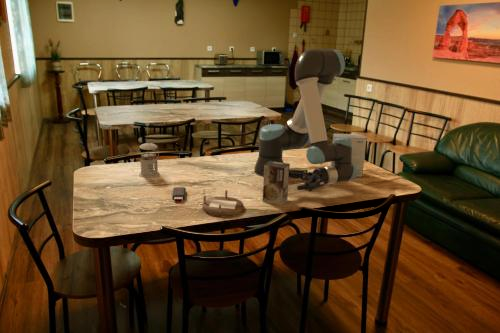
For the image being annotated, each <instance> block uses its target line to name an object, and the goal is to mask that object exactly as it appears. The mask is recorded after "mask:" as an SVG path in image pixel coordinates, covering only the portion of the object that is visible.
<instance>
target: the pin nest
mask: <svg viewBox="0 0 500 333" xmlns="http://www.w3.org/2000/svg"><path fill="white" fill-rule="evenodd" d="M224 192H225V193H224V196H214V197H213V196H212V197H211V198H208V199H207V197H206V195H203V200H202V211H203V210H204V211H203V212H204V213H205V212H206V213H205V214H207V215H209V214H210V215H209V216H212V215H213V217H217V216H221V218H223V217H222V216H230V217H233V216H232V215H235V216H237V215H236V214H238V213H240V212H241V211H242V212H243V211H244V203H243V202H242V200H240V199H237V198H235V197H231V196H228V190H227V189H225V191H224ZM242 212H241V213H242ZM241 213H240V214H241ZM238 215H239V214H238Z"/></svg>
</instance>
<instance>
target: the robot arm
mask: <svg viewBox="0 0 500 333" xmlns="http://www.w3.org/2000/svg"><path fill="white" fill-rule="evenodd" d="M345 67H346V61H345V56H344V55H343V54H342V52H341V51H339V50H338V49H333V48H328V49H327V48H326V49H325V48H320V49H319V48H309V49H306V50H305V51H303V52H302V53H301V54H300V55H299V56H298V58H297V61H296V63H295V68H294V80H295V84H296V85H297V86H298V88H299V92H300V100H299V103H298V104H297V107H296V109H295V111H294V113H293V117H291V118H289V119H288V120H287V122H286V125H285V126H284V125H283V124H278V123H274V124H273V123H272V124H271V123H270V124H266V125H263V126H262V127H260V130H259V136H258V137H259V140H258V141H259V142H258V158H257V160H256V163H255V165H254V174H256V175H258V176H261V177H264V165H265V164H266V163H267V162H269V161H275V162H281V163H284V159H283V151H288V150H289V151H290V150H298V149H302V148H305V147H306V146H308V144H309V145H310V146H309V147H308V148H307V150H306V159H307V161H308V163H309V164H311V165H319V164H320V165H322V164H325V163H331V161H334V166H331V165H329V166H324V167H317V168H314V169H313V171H309V170H308V169H289V179H298V180H302V181H305V182H299V183H294V184H288V193H289V192H296V191H297V192H298V191H308V192H313V191H314V190H316V189H318V188H320V187H323V186H326V185H331V184H336V183H343V182H349V181H353V180H355V179H356V178H358V177H357V173H358V171H357V169H356V166H355V165H354V164H352V141H351V139H350V138H347V137H338V138H335V139H334V143H333V142H332V143H329V141H328V136H327V130H326V129H327V128H326V124H325V119H324V114H323V108H322V102H321V99H322V97H323V95H324V92H325V91H326V88H327V87H328V86H330V85H332V84H333V83H334V81H335V78H336V77H339V76H341V75H342V74H343V73H344V71H345Z"/></svg>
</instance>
